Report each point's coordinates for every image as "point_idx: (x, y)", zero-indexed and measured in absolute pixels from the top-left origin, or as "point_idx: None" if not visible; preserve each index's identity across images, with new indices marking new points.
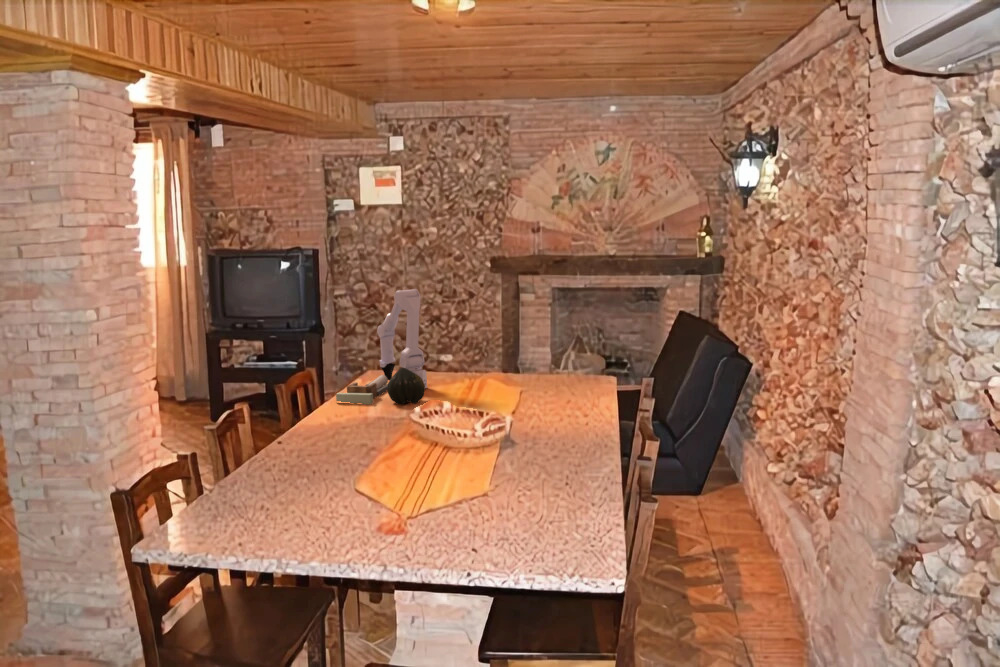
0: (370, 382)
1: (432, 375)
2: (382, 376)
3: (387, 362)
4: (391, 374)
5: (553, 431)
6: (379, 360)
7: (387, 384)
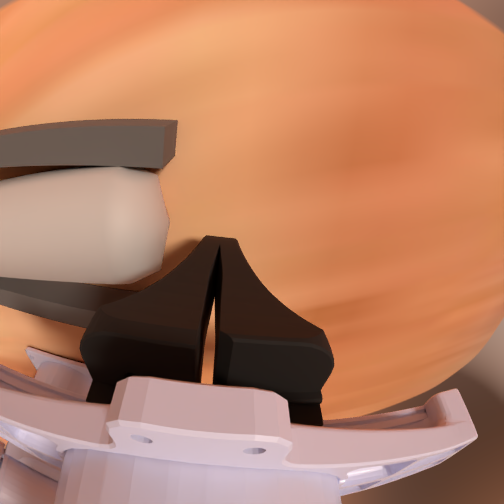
0: (16, 133)
1: (395, 398)
2: (39, 274)
3: (45, 456)
4: (215, 325)
5: (3, 439)
6: (118, 432)
7: (11, 296)
